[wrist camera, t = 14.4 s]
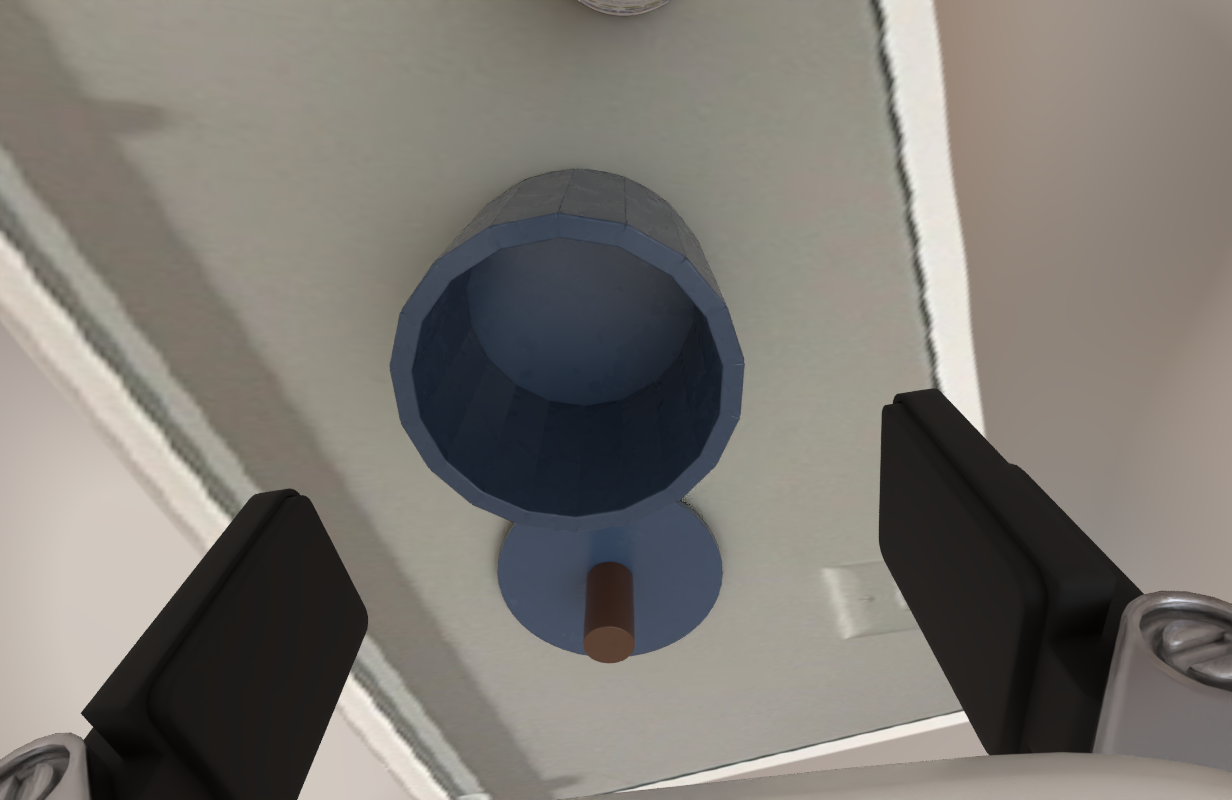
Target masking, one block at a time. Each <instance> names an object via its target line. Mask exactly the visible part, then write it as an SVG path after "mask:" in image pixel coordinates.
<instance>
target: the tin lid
mask: <svg viewBox="0 0 1232 800" xmlns="http://www.w3.org/2000/svg"><path fill="white" fill-rule="evenodd" d="M722 574H723V572H722V560H721V556H720V552H719V548H718V545H717V542H716V540H715V538H714V535H713V534H712V532H711V531H710V529H709V527H708V526H707V524H706V523H705V522H704V521H703V520H702V519H701V517H700V516H699V515H698V514H697V513H696V512H694V511H693V510H692V509H691V508H690V507H689V506H687V505H686V504H684V503H683V502H681V501H677V502H676V503H674V504H671V505H669V506H667V507H665V508H663V509H661V510H659V511H657V512H655V513H653V514H650V515H648V516H646V517H644V518H642V519H640V520H638V521H636V522H634V523H629V524H628V525H621V526H615V527H608V528H602V529H595V530H589V531H582V532H577V531H576V532H568V531H560V530H552V529H544V528H536V527H528V526H523V525H519V524H516V523H514V524H513V525H512V527H511V528H510V530H509V531H508V533H507V535H506V537H505V539H504V542H503V544H502V548H501V552H500V556H499V560H498V582H499V586H500V590H501V593H502V596H503V598H504V600H505V602H506V605H507V606H508V608H509V609H510V611H511V612H512V614H513V615H514V616H515V617H516V619H517V620H518V621H519V622H520V623H521V624H522V625H523V626H524V627H525V628H527V629H528V630H529V631H530V632H531V633H533V634H534V635H536V636H537V637H539V638H540V639H542V640H544V641H546V642H548V643H549V644H551V645H554V646H556V647H558V648H561V649H563V650H567V651H570V652H573V653H577V654H582V655H587V656H589V657H590V658H592V659H594V660H596V661H598V662H602V663H616V662H620V661H623V660H625V659H626V658H628V657H629V656H634V655H640V654H645V653H648V652H652V651H655V650H658V649H661V648H663V647H666V646H668V645H670V644H672V643H674V642H676V641H678V640H680V639H681V638H683V637H684V636H686V635H687V634H689V633H690V632H691V631H692V630H694V629H695V628H696V627H697V626H698V625H699V624H700V623H701V622H702V621H703V620H704V619H705V618H706V616H707V615H708V614H709V612H710V611H711V609H712V608H713V606H714V604H715V602H716V600H717V597H718V595H719V591H720V588H721V584H722Z"/></svg>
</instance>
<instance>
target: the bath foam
mask: <svg viewBox="0 0 1232 800" xmlns="http://www.w3.org/2000/svg"><path fill="white" fill-rule="evenodd" d="M578 1H580V2H581V3H583V4H584V5H586V6H588V7H590V8H592V9H594V10H597V11H599V12H602V13H606V14H611V15H618V16H630V15H637V14H642V13H646V12H649V11H652V10H654V9H656V8H658V7H660V6H662V5H664V4H666V3H667V2H669V1H670V0H578Z"/></svg>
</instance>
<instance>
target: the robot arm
mask: <svg viewBox="0 0 1232 800" xmlns="http://www.w3.org/2000/svg"><path fill="white" fill-rule="evenodd" d="M879 544H880V549H881V553H882V556H883V559H884V561H885V563H886V565H887V567H888V568H889V570H890V572H891V574H892V576H893V578H894V580H895V582H896V584H897V585H898V587H899V589H900V591H901V593H902V595H903V597H904V599H905V600H906V602H907V604H908V606H909V608H910V610H911V612H912V614H913V615H914V617H915V619H916V621H917V623H918V625H919V627H920V629H921V631H922V632H923V634H924V636H925V638H926V640H927V642H928V644H929V646H930V647H931V649H932V651H933V653H934V655H935V657H936V659H937V661H938V662H939V664H940V666H941V668H942V670H943V672H944V674H945V676H946V677H947V679H948V681H949V683H950V685H951V687H952V689H953V691H954V693H955V694H956V696H957V698H958V700H959V702H960V704H961V706H962V708H963V709H964V711H965V713H966V715H967V717H968V719H969V721H970V723H971V724H972V726H973V728H974V730H975V732H976V734H977V736H978V738H979V739H980V741H981V743H982V745H983V747H984V748H985V750H986V752H987V753H988V754H989V756H976V757H965V758H954V759H943V760H932V761H921V762H909V763H898V764H888V765H877V766H865V767H854V768H844V769H834V770H825V771H816V772H807V773H797V774H788V775H778V776H769V777H760V778H751V779H741V780H731V781H722V782H713V783H704V784H694V785H685V786H676V787H666V788H657V789H648V790H638V791H630V792H621V793H612V794H603V795H594V796H585V797H576V798H567V799H558V800H1232V604H1231V603H1228V602H1226V601H1223V600H1220V599H1217V598H1215V597H1211V596H1206V595H1201V594H1196V593H1191V592H1185V591H1158V592H1154V593H1149V594H1143V593H1142V592H1141V591H1140V590H1139V589H1138V588H1137V586H1136V585H1135V584H1134V583H1133V582H1132V581H1131V580H1130V579H1129V578H1128V577H1127V576H1126V575H1125V574H1124V573H1123V572H1122V571H1121V570H1120V569H1119V568H1118V567H1117V566H1116V565H1115V564H1114V563H1113V562H1112V561H1111V560H1110V559H1109V558H1108V557H1107V556H1106V555H1105V554H1104V552H1102V550H1101V549H1100V548H1099V547H1098V546H1097V545H1096V544H1095V543H1094V542H1093V541H1092V540H1091V539H1090V538H1089V537H1088V536H1087V535H1086V534H1085V533H1084V532H1083V531H1082V530H1081V529H1080V528H1079V527H1078V526H1077V525H1076V524H1075V523H1074V522H1073V521H1072V520H1071V518H1069V516H1068V515H1067V514H1066V513H1065V512H1064V511H1063V510H1062V509H1061V508H1060V507H1059V506H1058V505H1057V504H1056V503H1055V502H1054V501H1053V500H1052V499H1051V498H1050V497H1049V496H1048V495H1047V494H1046V493H1045V492H1044V491H1043V490H1042V489H1041V488H1040V487H1039V486H1038V485H1037V483H1036V482H1035V481H1034V480H1032V479H1031V477H1030V476H1029V475H1028V474H1027V473H1026V472H1025V471H1023V470H1022V469H1021V468H1020V467H1018V466H1017V465H1014V464H1010V463H1008V462H1007V461H1006V460H1005V459H1004V458H1003V457H1002V456H1001V455H1000V454H999V453H998V451H997V450H995V448H994V447H993V446H992V445H991V444H990V443H989V442H988V441H987V440H986V439H985V438H984V437H983V436H982V435H981V434H980V433H979V431H978V430H977V429H976V428H975V427H974V426H973V425H972V424H971V423H970V422H969V421H968V420H967V419H966V418H965V417H964V416H963V415H962V414H961V413H960V412H959V410H958V409H957V408H956V407H955V406H954V405H953V404H952V403H951V402H950V401H949V400H948V399H947V398H946V397H945V396H944V395H943V394H942V393H941V392H940V391H939V390H938V389H935V388H932V389H926V390H919V391H913V392H906V393H900V394H897V395H896V396H895V397H894V400H893V404H890V405H885V406H884V407H883V410H882V427H881V466H880V506H879ZM367 626H368V615H367V611H366V608H365V606H364V604H363V602H362V600H361V598H360V596H359V594H358V592H357V590H356V588H355V586H354V584H353V582H352V580H351V578H350V576H349V575H348V573H347V571H346V569H345V567H344V565H343V563H342V561H341V559H340V557H339V555H338V553H337V551H336V549H335V547H334V545H333V543H332V541H331V539H330V537H329V535H328V533H327V531H326V529H325V527H324V526H323V524H322V522H321V520H320V518H319V516H318V514H317V512H316V510H315V508H314V506H313V504H312V502H311V501H310V499H309V498H308V497H306V496H303V495H300V494H299V493H298V492H297V491H296V490H294V489H283V490H277V491H271V492H264V493H259V494H255V495H253V496H252V497H251V498H250V499H249V500H248V502H247V503H246V504H245V506H244V507H243V508H242V509H241V511H240V512H239V513H238V514H237V516H236V517H235V518H234V519H233V521H232V522H231V523H230V525H229V526H228V527H227V528H226V530H225V531H224V532H223V533H222V535H221V536H220V537H219V538H218V540H217V541H216V542H215V544H214V545H213V546H212V547H211V549H210V550H209V551H208V552H207V554H206V555H205V556H204V558H203V559H202V560H201V561H200V563H199V564H198V565H197V566H196V568H195V569H194V570H193V572H192V573H191V574H190V575H189V577H188V578H187V579H186V580H185V582H184V583H183V584H182V585H181V587H180V588H179V589H178V591H177V592H176V593H175V594H174V596H173V597H172V598H171V599H170V601H169V602H168V603H167V604H166V606H165V607H164V608H163V610H162V611H161V612H160V613H159V615H158V616H157V617H156V618H155V620H154V621H153V622H152V623H151V625H150V626H149V627H148V629H147V630H146V631H145V632H144V634H143V635H142V636H141V637H140V639H139V640H138V641H137V643H136V644H135V645H134V646H133V648H132V649H131V650H130V651H129V653H128V654H127V655H126V656H125V658H124V659H123V660H122V662H121V663H120V664H119V665H118V667H117V668H116V669H115V670H114V672H113V673H112V674H111V676H110V677H109V678H108V679H107V681H106V682H105V683H104V685H103V686H102V687H101V688H100V690H99V691H98V692H97V693H96V695H95V696H94V697H93V699H92V700H91V701H90V702H89V703H88V705H87V706H86V707H85V709H84V710H83V711H82V712H81V714H82V715H83V716H84V717H85V719H86V720H87V721H88V722H89V723H90V724H91V725H92V726H93V728H92V730H91V731H90V732H89V734H88V735H87V736H86V738H85V739H84V740H83V739H82V738H81V737H79V736H77V735H75V734H72V733H55V734H52V735H48V736H45V737H42V738H39V739H36V740H34V741H32V742H30V743H28V744H26V745H24V746H22V747H20V748H18V749H16V750H14V751H13V752H11V753H10V754H8V755H7V756H5V757H4V758H2V759H1V760H0V800H297V799H298V796H299V794H300V791H301V789H302V787H303V784H304V782H305V779H306V777H307V774H308V772H309V769H310V767H311V765H312V762H313V760H314V757H315V755H316V752H317V750H318V748H319V745H320V743H321V740H322V738H323V736H324V733H325V731H326V728H327V726H328V723H329V721H330V718H331V716H332V714H333V711H334V709H335V706H336V704H337V702H338V699H339V697H340V694H341V692H342V689H343V687H344V685H345V682H346V680H347V677H348V675H349V673H350V670H351V668H352V665H353V663H354V660H355V658H356V656H357V653H358V651H359V648H360V646H361V643H362V641H363V639H364V636H365V634H366V631H367Z"/></svg>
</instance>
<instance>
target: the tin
mask: <svg viewBox="0 0 1232 800" xmlns="http://www.w3.org/2000/svg"><path fill="white" fill-rule="evenodd" d="M744 365H745V364H744V357H743V354H742V351H741V348H740V345H739V342H738V339H737V335H736V332H735V329H734V326H733V323H732V320H731V317H730V314H729V311H728V308H727V305H726V303H725V301H724V298H723V296H722V294H721V292H720V289H719V287H718V285H717V283H716V280H715V278H714V276H713V274H712V271H711V269H710V267H709V265H708V262H707V260H706V258H705V256H704V253H703V251H702V249H701V246H700V244H699V242H698V240H697V238H696V236H695V235H694V234H693V233H692V232H691V230H690V229H689V228H688V227H687V225H686V224H685V222H684V221H683V219H682V218H681V217H680V216H679V215H678V214H677V213H676V212H675V210H674V209H673V208H672V207H671V206H670V204H669V203H667V202H666V201H665V200H664V199H662V198H660V197H659V196H658V195H657V194H655V193H654V192H652V191H650V190H649V189H647V188H645V187H644V186H642V185H641V184H638V183H636V182H634V181H631V180H629V179H627V178H626V177H622V176H618V175H615V174H611V173H608V172H602V171H595V170H582V169H569V170H562V171H555V172H550V173H546V174H543V175H539V176H535V177H532V178H528V179H525V180H524V181H522V182H521V183H519V184H517V185H516V186H514V187H512V188H511V189H509V190H508V191H506V192H504V193H503V194H502V195H501V196H499V197H498V198H496V199H495V200H493V201H492V202H490V203H489V204H487V205H486V206H485V208H484V209H483V210H482V211H481V212H480V213H479V214H478V215H477V216H476V217H475V218H474V219H473V221H472V222H471V223H470V224H469V225H468V226H467V227H466V228H465V229H464V230H463V231H462V233H461V234H460V235H459V236H458V237H457V238H456V239H455V240H454V241H453V242H452V243H451V245H450V246H449V247H448V248H447V249H446V250H445V251H444V252H443V253H442V254H441V255H440V257H439V258H438V259H437V260H436V261H435V262H434V263H433V264H432V266H431V267H430V269H429V270H428V272H427V273H426V275H425V276H424V278H423V279H422V281H421V282H420V283H419V285H418V286H417V288H416V289H415V291H414V292H413V294H412V295H411V297H410V298H409V299H408V301H407V302H406V304H405V305H404V307H403V308H402V311H401V312H400V315H399V321H398V326H397V331H396V336H395V341H394V346H393V351H392V356H391V361H390V372H391V377H392V382H393V387H394V392H395V397H396V402H397V407H398V412H399V417H400V421H401V424H402V426H403V428H404V429H405V431H406V432H407V434H408V436H409V437H410V439H411V440H412V442H413V444H414V445H415V447H416V449H417V450H418V452H419V453H420V455H421V457H422V458H423V460H424V461H425V463H426V465H427V466H428V468H430V470H431V471H432V472H433V473H435V474H436V475H437V476H438V477H439V478H441V479H442V480H443V481H444V482H446V483H447V484H448V485H449V486H450V487H452V488H453V489H454V490H455V491H456V492H458V493H459V494H460V495H461V496H462V497H464V498H465V499H466V500H467V501H468V502H470V503H472V505H474V506H476V507H479V508H481V509H483V510H486V511H488V512H491V513H493V514H495V515H498V516H500V517H502V518H505V519H507V520H509V521H512V522H514V523H516V524H519V525H523V526H528V527H536V528H544V529H552V530H560V531H568V532H576V531H577V532H582V531H589V530H595V529H602V528H608V527H615V526H621V525H628V524H629V523H634V522H636V521H638V520H640V519H642V518H644V517H646V516H648V515H650V514H653V513H655V512H657V511H659V510H661V509H663V508H665V507H667V506H669V505H671V504H674V503H676V502H677V501H680V500H681V499H682V498H683V497H684V496H685V495H686V494H687V493H688V492H689V491H690V490H691V489H692V488H693V487H694V486H695V485H696V484H697V483H698V482H700V481H701V480H702V479H703V478H704V477H705V476H706V475H707V474H708V473H709V472H710V471H711V470H712V469H713V468H714V467H715V466H716V464H717V463H718V461H719V459H720V457H721V455H722V453H723V451H724V449H725V447H726V445H727V443H728V441H729V439H730V437H731V435H732V433H733V431H734V429H735V427H736V425H737V423H738V421H739V419H740V414H741V403H742V390H743V378H744Z"/></svg>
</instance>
